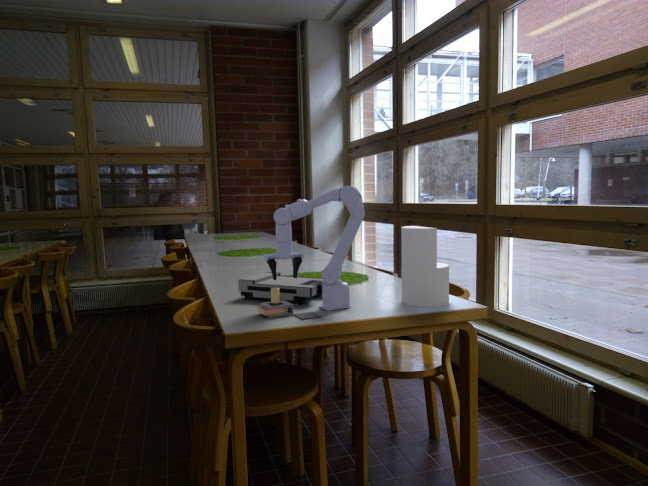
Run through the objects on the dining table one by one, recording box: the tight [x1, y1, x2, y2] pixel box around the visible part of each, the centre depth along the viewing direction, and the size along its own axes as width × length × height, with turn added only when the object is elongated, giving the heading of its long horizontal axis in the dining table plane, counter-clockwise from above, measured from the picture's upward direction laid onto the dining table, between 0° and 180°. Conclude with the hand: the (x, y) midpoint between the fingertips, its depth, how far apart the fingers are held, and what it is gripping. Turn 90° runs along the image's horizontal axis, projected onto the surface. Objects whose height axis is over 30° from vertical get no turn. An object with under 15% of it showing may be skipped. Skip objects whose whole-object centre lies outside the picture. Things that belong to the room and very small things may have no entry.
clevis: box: [256, 300, 294, 319], centre depth 157 cm, size 10×8×4 cm
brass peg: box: [271, 287, 280, 306], centre depth 157 cm, size 3×3×9 cm
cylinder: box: [400, 225, 450, 308], centre depth 171 cm, size 17×17×28 cm
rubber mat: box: [293, 311, 322, 321], centre depth 154 cm, size 7×7×1 cm
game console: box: [237, 271, 323, 305], centre depth 184 cm, size 21×32×8 cm, turn 64°
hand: (285, 278), depth 167 cm, fingers open, 7 cm apart
